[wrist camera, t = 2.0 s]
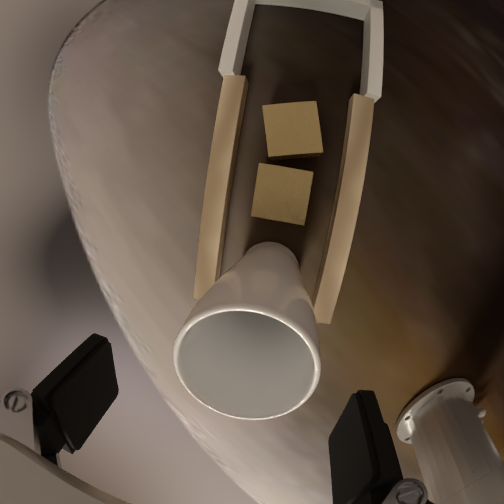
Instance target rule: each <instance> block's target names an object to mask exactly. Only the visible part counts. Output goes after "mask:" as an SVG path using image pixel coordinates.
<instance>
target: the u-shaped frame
mask: <svg viewBox="0 0 504 504" xmlns="http://www.w3.org/2000/svg"><path fill="white" fill-rule="evenodd" d="M255 4H264V5H278V6H288V7H297V8H304V9H311V10H317V11H323V12H328V13H333V14H338V15H343V16H347V17H351V18H355V19H359V20H363V21H364V35H363V56H362V72H361V84H360V95H362V96H366V97H369V98H373V99H374V103H375V102H376V101H377V100H378V99H379V98H380V97H381V92H382V76H383V45H384V29H383V2H382V1H379V0H235V2H234V6H233V9H232V13H231V17H230V21H229V25H228V29H227V33H226V38H225V42H224V46H223V50H222V55H221V59H220V64H219V69H218V71H219V72H220V74H221V75H222V76H223V78H224V75H241V70H242V65H243V60H244V55H245V50H246V45H247V40H248V35H249V30H250V26H251V21H252V17H253V12H254V8H255Z"/></svg>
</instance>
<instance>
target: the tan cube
mask: <svg viewBox="0 0 504 504" xmlns="http://www.w3.org/2000/svg"><path fill="white" fill-rule="evenodd" d="M262 107H263V115H264V123H265V131H266V140H267V148H268V157H269V158H270V159H271V160H272V161H275V160H285V159H297V158H310V157H318V156H320V155H321V154H322V153H323V146H322V138H321V131H320V123H319V116H318V110H317V103H316V101H307V102H293V103H281V104H271V105H263V106H262Z"/></svg>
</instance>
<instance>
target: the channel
mask: <svg viewBox="0 0 504 504" xmlns="http://www.w3.org/2000/svg"><path fill="white" fill-rule="evenodd" d="M248 86H249V82H248V80H247V78H246V76H241V75H224V79H223V84H222V90H221V95H220V100H219V106H218V111H217V117H216V122H215V128H214V134H213V140H212V147H211V153H210V160H209V166H208V173H207V180H206V187H205V195H204V203H203V210H202V219H201V227H200V236H199V245H198V255H197V265H196V276H195V287H194V298H196V299H201V297H202V296H203V295H204V294H205V293H206V291H207V290H208V289H209V288H210V287H211V286H212V285H213V284H214V283H215V282H216V281H217V280H218V279H219V278H220V271H221V263H222V255H223V247H224V240H225V232H226V225H227V218H228V211H229V204H230V197H231V190H232V183H233V176H234V170H235V163H236V157H237V151H238V144H239V138H240V132H241V126H242V120H243V114H244V108H245V102H246V97H247V91H248ZM373 108H374V99H373V98H369V97H366V96H362V95H358V94H353V95H352V97H351V98H350V99H349V106H348V114H347V122H346V130H345V137H344V144H343V151H342V158H341V164H340V170H339V177H338V182H337V188H336V194H335V199H334V205H333V210H332V215H331V220H330V225H329V230H328V235H327V240H326V244H325V249H324V254H323V258H322V262H321V267H320V271H319V275H318V280H317V284H316V288H315V292H314V296H313V300H312V305H313V309H314V312H315V316H316V320H317V322H320V323H326V324H330V322H331V318H332V315H333V312H334V308H335V305H336V301H337V298H338V294H339V291H340V287H341V283H342V279H343V276H344V272H345V268H346V264H347V260H348V256H349V251H350V247H351V243H352V238H353V234H354V229H355V224H356V220H357V215H358V210H359V205H360V199H361V194H362V188H363V183H364V177H365V171H366V164H367V157H368V150H369V143H370V135H371V127H372V118H373Z"/></svg>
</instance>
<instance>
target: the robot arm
mask: <svg viewBox="0 0 504 504" xmlns="http://www.w3.org/2000/svg"><path fill="white" fill-rule="evenodd" d="M117 395H118V385H117V379H116V374H115V367H114V361H113V354H112V348H111V343H109V342H108V339H107V338H106V337H103V336H100V335H98V334H95V333H94V334H92V335H91V336H90V337H89V338H87V340H85V341H84V342H83V343H82V344H81V345H80V346H79V347H78V348H76V349H75V350H74V351H73V352H72V353H71V354H70V355H69V356H68V357H67V358H66V359H65V360H63V362H61V364H59V365H58V366H57V367H56V368H55V369H54V370H53V371H52V372H51V373H50V374H49V375H48V376H47V377H46V378H45V379H44V380H43V381H42V382H40V383H39V384H38V386H36V387H35V388H34V389H33V392H32V393H31V394H30V393H29V392H28V391H26V390H24V389H22V388H11V389H9V390H7V391H6V392H5V393H4V394H3V395H2V397H1V400H0V504H131V503H128V502H125V501H123V500H121V499H119V498H116V497H114V496H112V495H110V494H108V493H106V492H103V491H101V490H99V489H97V488H95V487H93V486H91V485H90V484H88V483H86V482H84V481H82V480H80V479H79V478H77V477H75V476H73V475H72V474H70V473H68V472H66V471H64V470H63V469H62V465H61V460H60V455H59V452H60V450H61V449H62V448H63V449H64V450H66V451H68V452H69V453H71V454H73V453H74V451H75V450H79V449H80V448H81V447H82V445H83V444H84V443H85V441H86V440H87V438H88V437H89V435H90V434H91V433H92V431H93V430H94V428H95V427H96V425H97V424H98V423H99V421H100V420H101V418H102V417H103V415H104V414H105V412H106V411H107V410H108V408H109V407H110V406H111V404H112V403H113V401H114V400H115V399H116V397H117ZM474 396H475V391H474V388H473V386H472V384H471V383H470V382H469V381H468V380H466V379H463V378H453V379H448V380H445V381H442V382H440V383H438V384H436V385H434V386H432V387H430V388H429V389H427V390H425V391H424V392H422V393H421V394H420V395H418V396H417V397H416V398H415V399H414V400H413V401H412V402H410V403H409V405H408V406H407V407H406V408H405V409H404V410H403V412H402V413H401V415H400V416H399V418H398V420H397V424H396V432H397V435H398V437H399V439H400V440H401V441H403V442H405V443H410V444H412V445H413V448H414V451H415V454H416V457H417V460H418V463H419V467H420V470H421V473H422V477H423V480H424V483H425V485H424V484H423V483H422V482H420V481H419V480H416V479H413V478H406V479H403V476H402V472H401V468H400V465H399V461H398V458H397V454H396V451H395V447H394V444H393V440H392V437H391V434H390V430H389V427H388V425H387V424H386V423H384V421H383V418H382V415H381V411H380V408H379V405H378V402H377V399H376V396H375V393H374V391H369V390H358V391H357V393H356V394H355V393H353V394H352V395H351V397H350V399H349V401H348V403H347V405H346V407H345V409H344V411H343V413H342V415H341V416H340V418H339V420H338V422H337V424H336V425H335V427H334V429H333V431H332V432H331V434H330V436H329V442H328V443H329V454H330V466H331V479H332V495H333V504H504V463H503V461H502V459H501V457H500V455H499V453H498V451H497V449H496V447H495V445H494V443H493V441H492V440H491V438H490V436H489V434H488V432H487V431H486V429H485V427H484V425H483V420H482V418H479V417H483V416H485V414H486V409H485V408H482V409H476V407H475V405H474V404H473V400H474ZM427 498H429V500H427Z"/></svg>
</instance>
